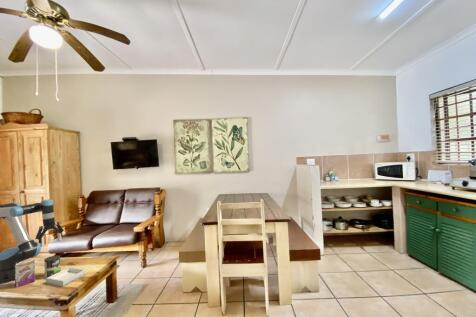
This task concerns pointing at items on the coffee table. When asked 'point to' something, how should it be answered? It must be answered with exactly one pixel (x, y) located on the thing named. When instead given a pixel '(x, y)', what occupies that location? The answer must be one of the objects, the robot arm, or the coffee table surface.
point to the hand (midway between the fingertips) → (51, 243)
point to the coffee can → (52, 265)
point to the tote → (65, 276)
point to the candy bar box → (24, 273)
